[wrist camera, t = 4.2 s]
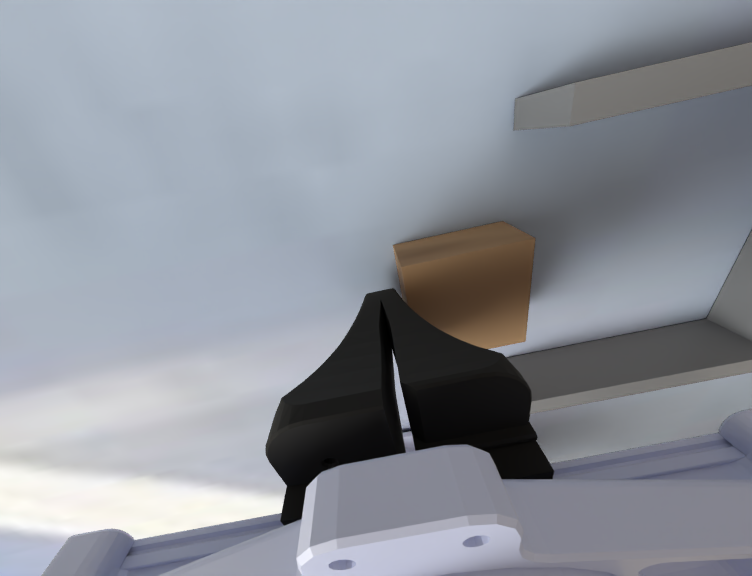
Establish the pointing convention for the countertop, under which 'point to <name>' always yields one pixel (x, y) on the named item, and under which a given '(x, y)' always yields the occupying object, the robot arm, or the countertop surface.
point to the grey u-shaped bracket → (667, 344)
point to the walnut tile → (470, 282)
